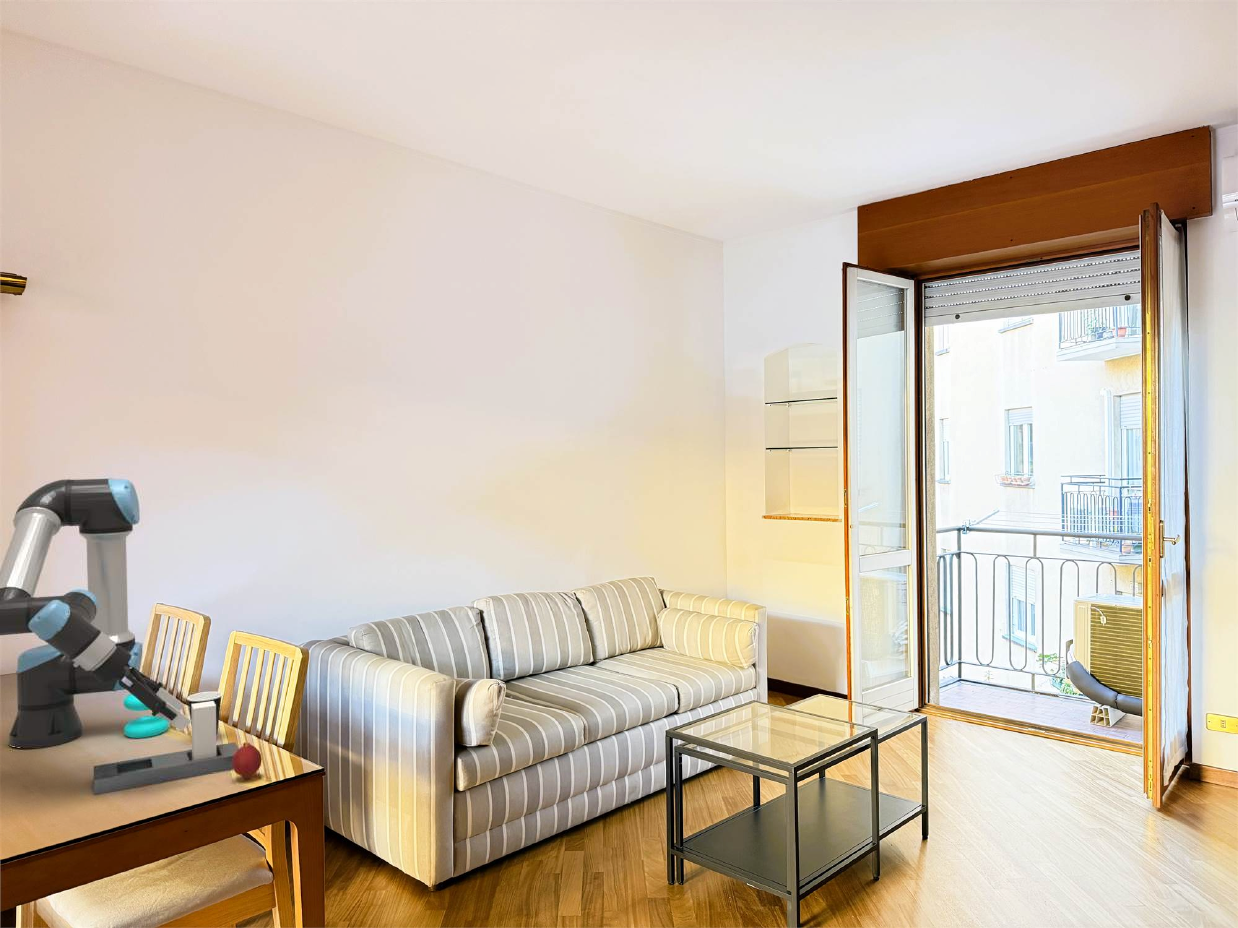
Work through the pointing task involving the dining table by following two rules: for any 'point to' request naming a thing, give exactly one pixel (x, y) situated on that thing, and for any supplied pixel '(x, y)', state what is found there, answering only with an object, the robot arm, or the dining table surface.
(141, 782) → the gray slotted board
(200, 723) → the peg
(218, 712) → the dixie cup
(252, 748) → the onion
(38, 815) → the dining table surface
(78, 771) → the dining table surface
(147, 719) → the donuts
